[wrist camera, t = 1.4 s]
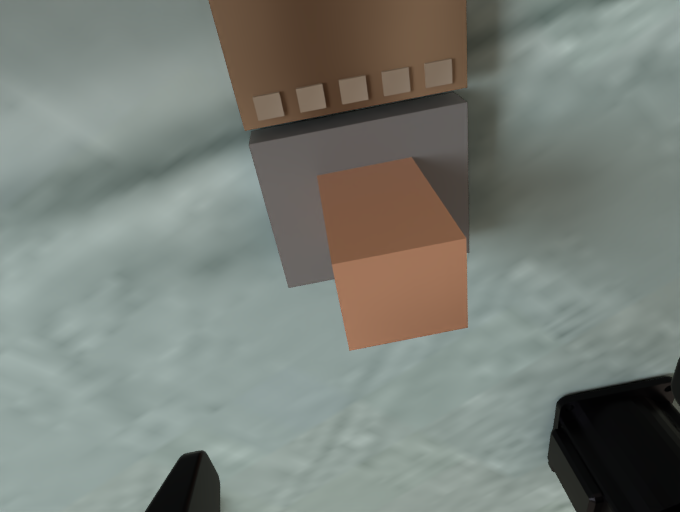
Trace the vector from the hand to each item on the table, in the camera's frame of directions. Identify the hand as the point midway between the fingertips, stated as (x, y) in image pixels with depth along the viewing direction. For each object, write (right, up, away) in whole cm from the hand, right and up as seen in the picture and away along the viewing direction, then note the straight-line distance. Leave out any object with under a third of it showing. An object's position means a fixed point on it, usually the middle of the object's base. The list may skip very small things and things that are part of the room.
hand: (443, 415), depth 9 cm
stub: (-1, +6, +9) cm, 10 cm away
